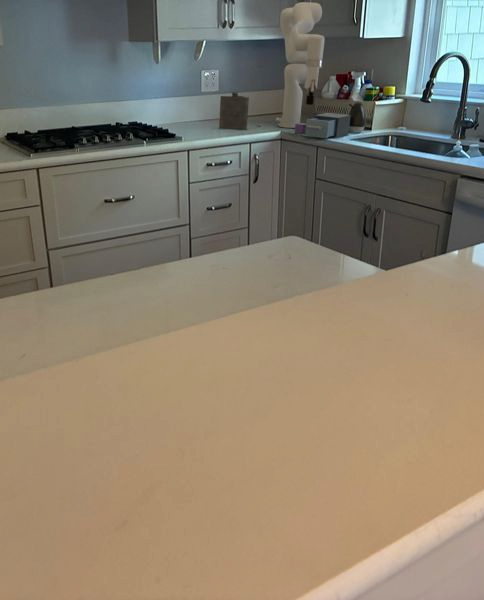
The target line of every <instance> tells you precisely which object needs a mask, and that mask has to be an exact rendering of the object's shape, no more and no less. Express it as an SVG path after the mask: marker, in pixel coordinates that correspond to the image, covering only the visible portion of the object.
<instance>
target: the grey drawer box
mask: <svg viewBox="0 0 484 600" xmlns="http://www.w3.org/2000/svg"><path fill="white" fill-rule="evenodd" d="M319 117H320V118H329V119H337V123H336V132H335V135H334V136H330V137H329V138H330V139H331V138H332V139H338V138H343V137H346V136H349V133H350V132H349V124H350V117H351V115H348V114H342V113H335V112H334V113H333V112H324V113H318V114H315V115H314V116H313V119H314V118H319Z"/></svg>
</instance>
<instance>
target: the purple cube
mask: <svg viewBox="0 0 484 600" xmlns="http://www.w3.org/2000/svg"><path fill="white" fill-rule="evenodd" d="M305 131H306V123H304V122H303V123H302V122H300V123H297V124H295V128H294V134H299V135H305Z"/></svg>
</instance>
